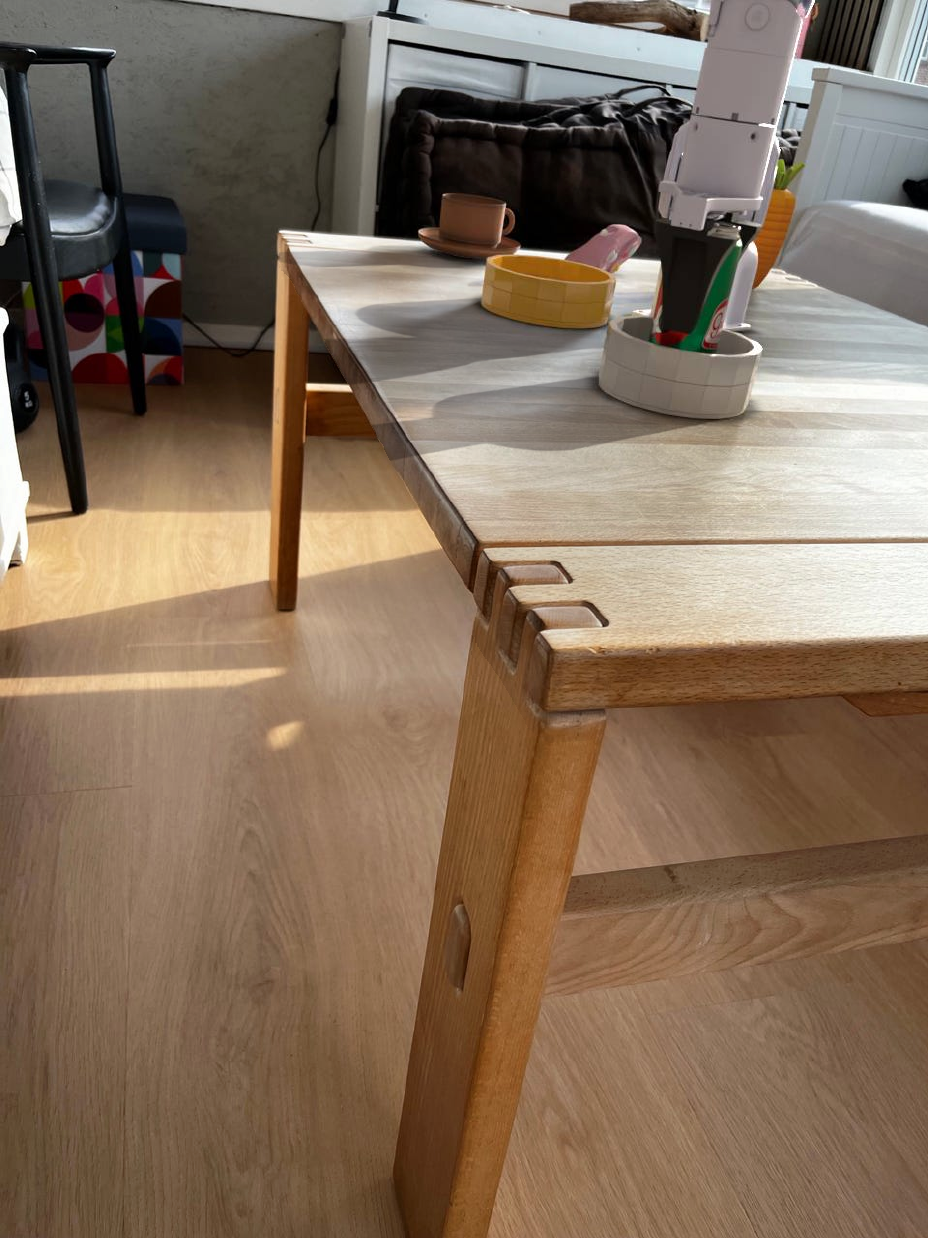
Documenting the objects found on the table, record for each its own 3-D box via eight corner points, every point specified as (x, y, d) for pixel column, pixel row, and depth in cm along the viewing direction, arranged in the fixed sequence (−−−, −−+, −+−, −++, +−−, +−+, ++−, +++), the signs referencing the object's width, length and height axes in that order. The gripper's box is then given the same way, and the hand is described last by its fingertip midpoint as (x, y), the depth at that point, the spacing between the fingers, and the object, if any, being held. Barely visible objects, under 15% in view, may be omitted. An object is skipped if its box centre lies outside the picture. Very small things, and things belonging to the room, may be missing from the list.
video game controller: (584, 294, 116) (620, 241, 111) (555, 268, 116) (590, 215, 112) (620, 285, 123) (655, 236, 119) (592, 260, 124) (626, 210, 120)
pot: (658, 366, 85) (670, 311, 82) (774, 408, 78) (790, 349, 76) (568, 380, 77) (578, 320, 75) (686, 426, 71) (702, 362, 69)
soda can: (706, 404, 75) (748, 232, 69) (637, 392, 76) (673, 221, 70) (705, 386, 79) (745, 223, 74) (641, 375, 80) (675, 212, 74)
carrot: (778, 291, 125) (813, 157, 118) (765, 295, 121) (801, 157, 114) (739, 282, 127) (771, 151, 120) (726, 286, 123) (758, 150, 116)
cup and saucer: (456, 241, 127) (462, 188, 124) (537, 261, 122) (545, 206, 119) (395, 247, 118) (400, 190, 115) (479, 269, 113) (487, 209, 110)
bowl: (542, 293, 105) (548, 253, 104) (633, 323, 98) (641, 280, 96) (454, 299, 98) (460, 255, 96) (546, 332, 90) (554, 286, 88)
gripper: (701, 112, 76) (662, 299, 82) (646, 110, 64) (605, 328, 71) (796, 127, 74) (748, 318, 80) (757, 127, 62) (704, 351, 68)
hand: (687, 324), depth 75 cm, fingers closed on soda can, 5 cm apart
